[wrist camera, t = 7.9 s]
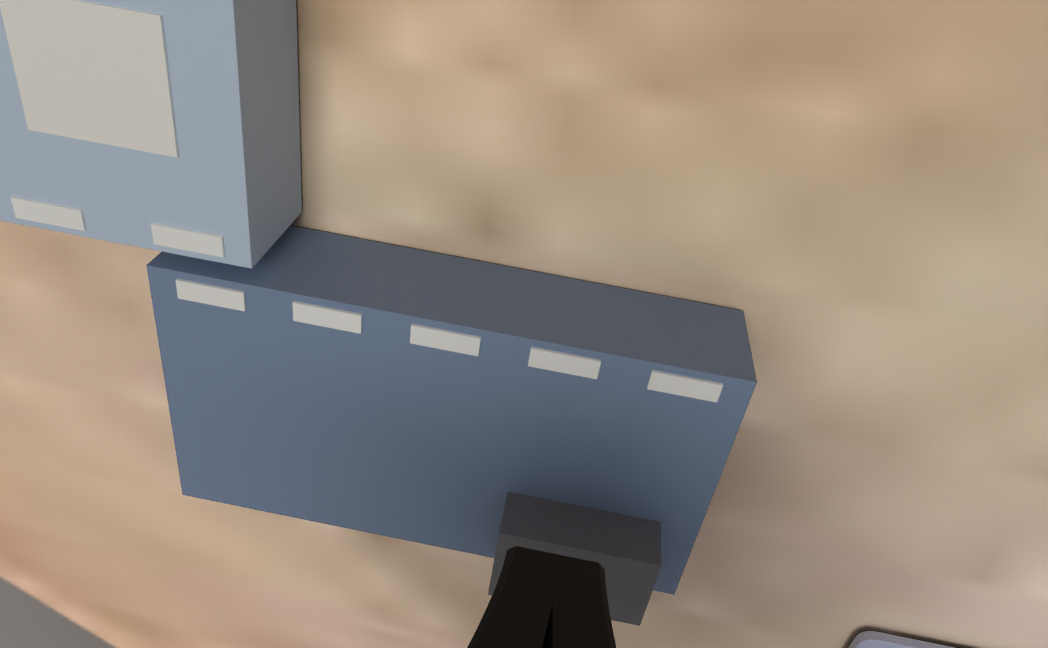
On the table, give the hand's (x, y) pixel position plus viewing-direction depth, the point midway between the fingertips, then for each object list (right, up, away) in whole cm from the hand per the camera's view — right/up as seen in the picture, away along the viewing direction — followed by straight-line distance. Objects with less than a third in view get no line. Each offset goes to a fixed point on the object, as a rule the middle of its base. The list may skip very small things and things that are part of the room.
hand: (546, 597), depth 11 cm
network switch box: (-2, +3, +11) cm, 11 cm away
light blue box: (-9, +10, +7) cm, 15 cm away
